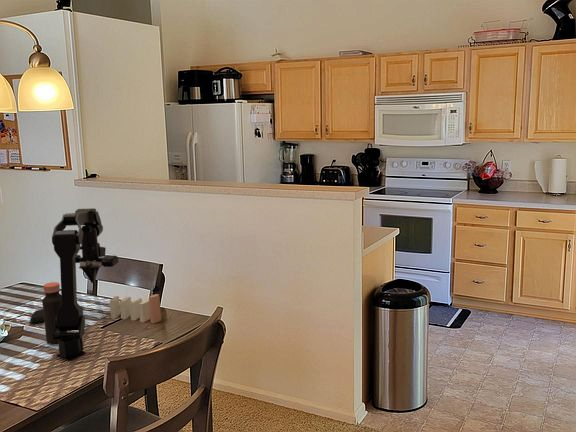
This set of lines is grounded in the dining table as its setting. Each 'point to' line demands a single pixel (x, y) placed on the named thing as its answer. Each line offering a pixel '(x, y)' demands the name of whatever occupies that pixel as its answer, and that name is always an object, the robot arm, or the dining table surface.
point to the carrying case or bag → (37, 317)
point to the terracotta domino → (154, 308)
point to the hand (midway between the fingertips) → (93, 282)
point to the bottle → (51, 309)
